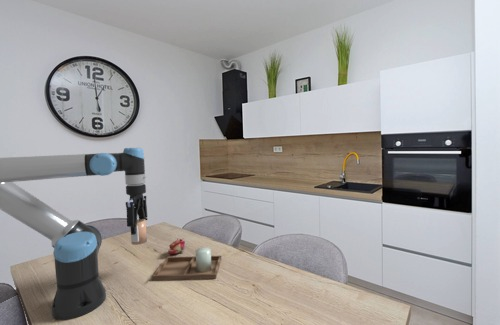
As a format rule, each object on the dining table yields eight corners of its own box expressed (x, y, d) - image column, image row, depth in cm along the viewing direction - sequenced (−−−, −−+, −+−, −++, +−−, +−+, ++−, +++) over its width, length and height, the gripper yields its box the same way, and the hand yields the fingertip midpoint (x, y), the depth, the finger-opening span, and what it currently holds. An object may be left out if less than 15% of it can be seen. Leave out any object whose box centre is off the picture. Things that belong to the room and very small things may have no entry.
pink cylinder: (143, 244, 100) (141, 222, 99) (128, 244, 100) (127, 223, 99) (149, 239, 106) (148, 218, 105) (135, 239, 106) (134, 219, 105)
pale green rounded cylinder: (210, 272, 100) (209, 253, 99) (194, 272, 100) (193, 253, 99) (212, 264, 106) (211, 247, 106) (198, 265, 106) (197, 247, 106)
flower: (192, 247, 124) (184, 234, 125) (186, 251, 115) (177, 237, 116) (177, 258, 124) (169, 245, 125) (169, 263, 114) (160, 249, 116)
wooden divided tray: (216, 280, 95) (215, 274, 94) (152, 282, 95) (151, 276, 95) (221, 260, 111) (221, 255, 111) (167, 262, 112) (166, 257, 112)
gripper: (133, 187, 92) (137, 247, 93) (153, 181, 111) (156, 230, 112) (114, 188, 92) (117, 247, 93) (137, 181, 111) (140, 231, 112)
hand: (138, 238), depth 103 cm, fingers closed on pink cylinder, 6 cm apart
